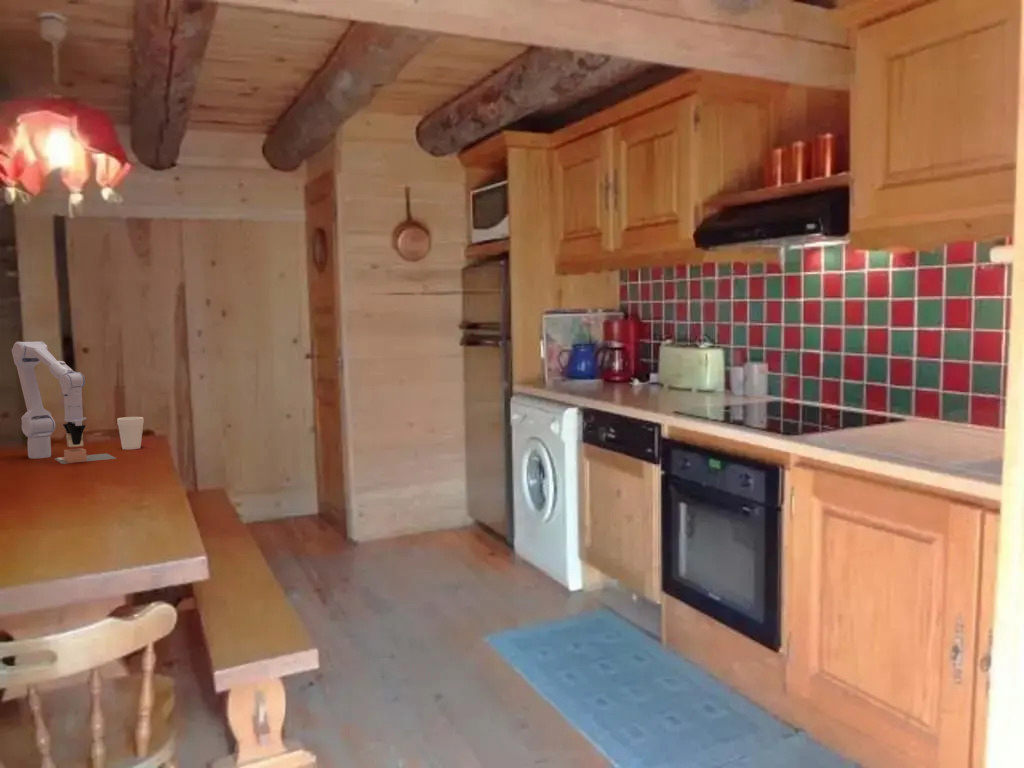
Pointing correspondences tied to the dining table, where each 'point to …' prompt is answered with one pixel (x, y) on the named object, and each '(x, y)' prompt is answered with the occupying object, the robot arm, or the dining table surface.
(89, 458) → the build board
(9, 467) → the dining table surface
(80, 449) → the terracotta block
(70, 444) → the cream cube
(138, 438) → the foam cup
